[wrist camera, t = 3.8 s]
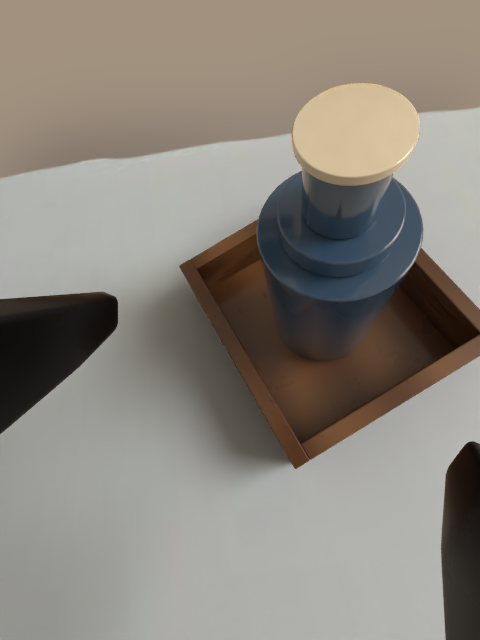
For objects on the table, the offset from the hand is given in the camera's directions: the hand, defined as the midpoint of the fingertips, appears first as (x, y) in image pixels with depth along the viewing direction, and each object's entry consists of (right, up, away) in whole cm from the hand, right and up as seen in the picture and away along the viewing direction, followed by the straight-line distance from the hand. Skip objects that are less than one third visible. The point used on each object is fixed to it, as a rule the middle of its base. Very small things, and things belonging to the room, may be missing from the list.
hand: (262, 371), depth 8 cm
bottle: (+4, +1, +12) cm, 13 cm away
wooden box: (+4, +1, +13) cm, 14 cm away
